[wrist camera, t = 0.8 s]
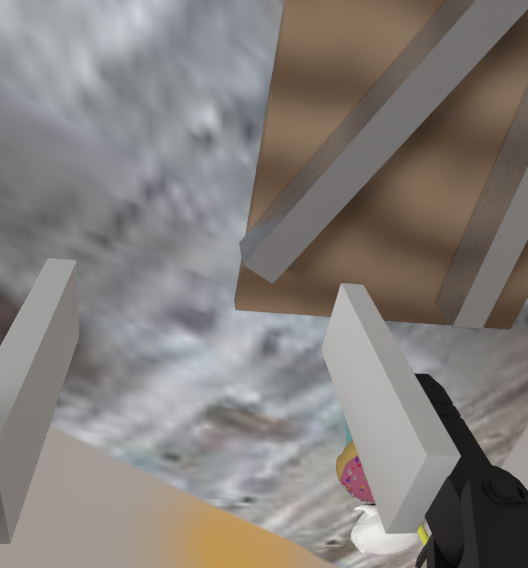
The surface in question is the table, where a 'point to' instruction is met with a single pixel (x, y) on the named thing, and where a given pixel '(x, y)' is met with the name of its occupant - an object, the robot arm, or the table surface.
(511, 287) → the board
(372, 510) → the garlic
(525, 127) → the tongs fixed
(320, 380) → the table surface
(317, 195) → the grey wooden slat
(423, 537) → the cupcake
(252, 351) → the table surface
